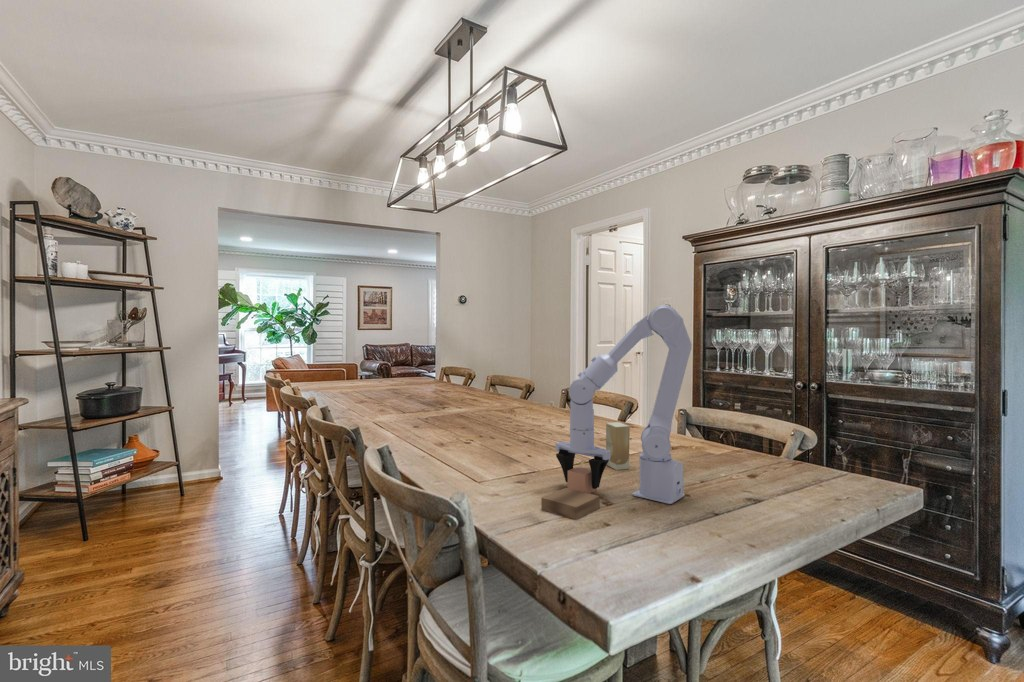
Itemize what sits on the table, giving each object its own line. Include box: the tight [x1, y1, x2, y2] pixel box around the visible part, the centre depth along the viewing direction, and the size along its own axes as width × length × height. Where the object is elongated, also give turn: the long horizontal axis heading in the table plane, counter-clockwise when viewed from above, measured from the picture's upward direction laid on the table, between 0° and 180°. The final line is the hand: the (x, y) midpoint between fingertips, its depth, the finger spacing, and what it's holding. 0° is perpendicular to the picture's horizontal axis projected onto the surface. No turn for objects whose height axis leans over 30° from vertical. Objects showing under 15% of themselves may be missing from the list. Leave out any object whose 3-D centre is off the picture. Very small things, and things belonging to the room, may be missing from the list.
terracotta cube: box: [567, 465, 598, 494], centre depth 118 cm, size 5×5×5 cm
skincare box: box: [605, 421, 631, 471], centre depth 139 cm, size 6×4×12 cm
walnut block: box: [541, 487, 601, 521], centre depth 106 cm, size 9×9×3 cm
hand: (582, 484), depth 118 cm, fingers open, 7 cm apart
